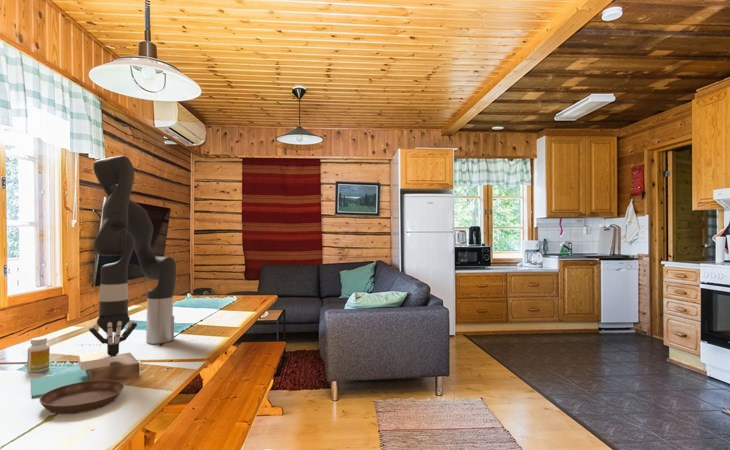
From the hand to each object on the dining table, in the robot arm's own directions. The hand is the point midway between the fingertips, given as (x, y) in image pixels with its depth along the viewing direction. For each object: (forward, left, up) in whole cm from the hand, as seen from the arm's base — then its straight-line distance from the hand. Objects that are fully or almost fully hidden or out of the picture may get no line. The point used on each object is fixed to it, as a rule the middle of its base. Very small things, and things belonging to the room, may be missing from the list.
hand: (112, 356), depth 126 cm
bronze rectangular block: (0, 0, -6) cm, 6 cm away
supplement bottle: (+17, -19, -6) cm, 26 cm away
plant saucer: (+9, +19, -6) cm, 22 cm away
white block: (+5, 0, -2) cm, 5 cm away
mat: (+13, 0, -6) cm, 14 cm away
